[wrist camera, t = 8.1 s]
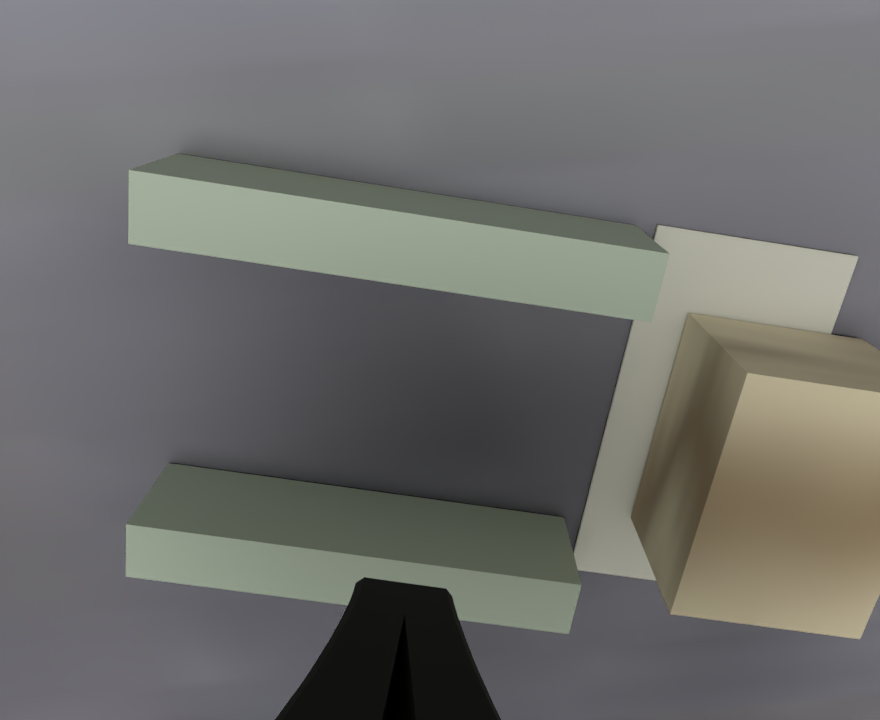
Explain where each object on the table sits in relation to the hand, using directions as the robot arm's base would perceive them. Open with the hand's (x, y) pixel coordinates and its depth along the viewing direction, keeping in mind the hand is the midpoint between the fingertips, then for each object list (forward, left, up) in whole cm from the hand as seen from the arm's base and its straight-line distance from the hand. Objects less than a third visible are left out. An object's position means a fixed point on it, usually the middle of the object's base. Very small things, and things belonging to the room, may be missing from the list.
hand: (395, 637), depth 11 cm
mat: (0, -8, -9) cm, 12 cm away
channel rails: (0, +1, -9) cm, 9 cm away
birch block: (0, -9, -9) cm, 13 cm away
